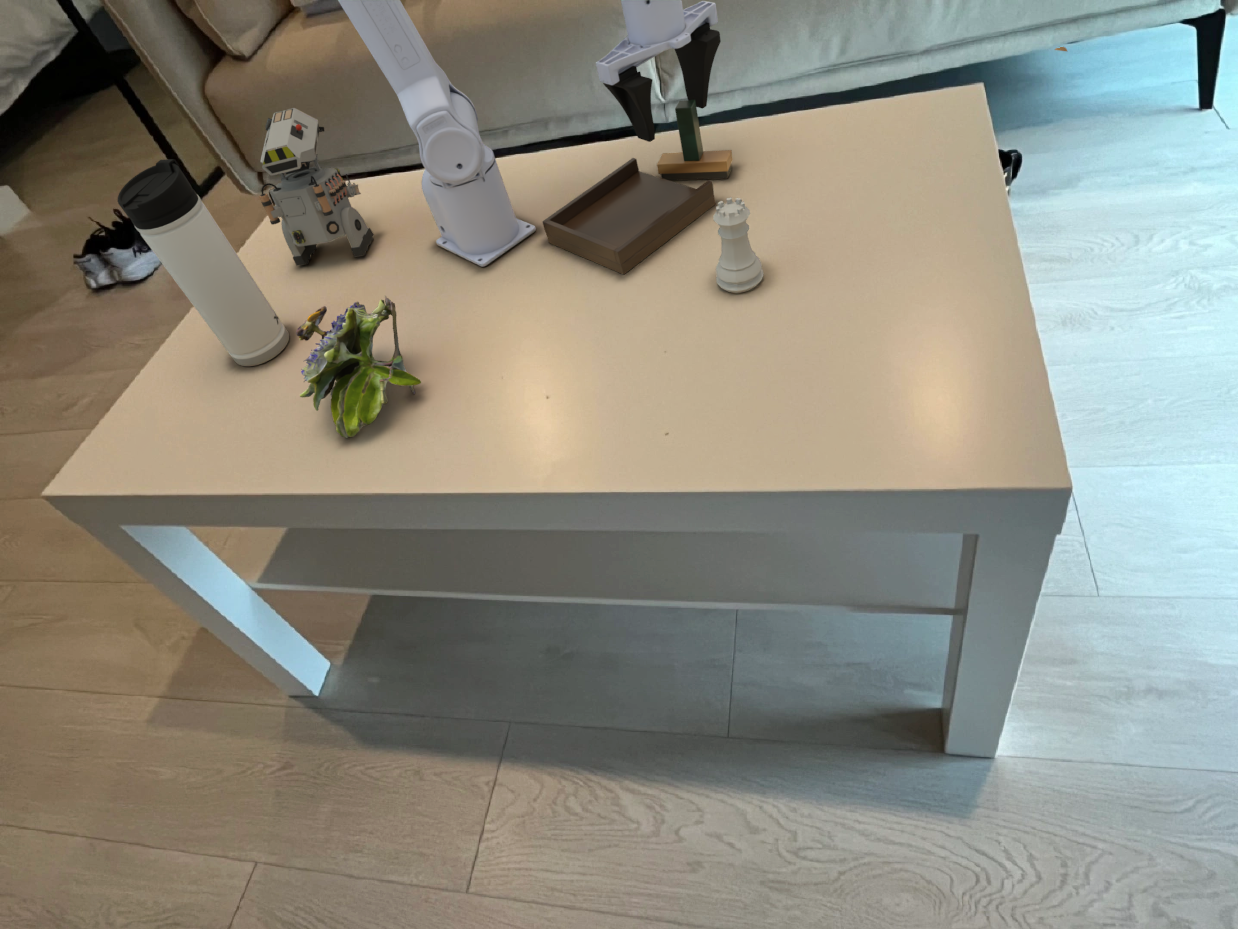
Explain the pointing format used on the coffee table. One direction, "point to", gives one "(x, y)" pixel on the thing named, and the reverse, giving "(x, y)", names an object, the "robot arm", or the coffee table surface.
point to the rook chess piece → (736, 249)
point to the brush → (693, 151)
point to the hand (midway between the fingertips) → (672, 121)
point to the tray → (626, 217)
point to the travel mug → (203, 262)
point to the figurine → (308, 189)
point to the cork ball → (1061, 49)
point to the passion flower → (352, 365)
